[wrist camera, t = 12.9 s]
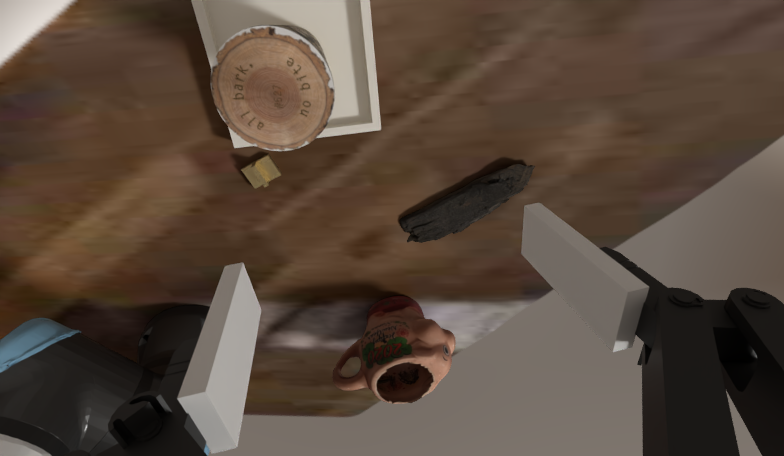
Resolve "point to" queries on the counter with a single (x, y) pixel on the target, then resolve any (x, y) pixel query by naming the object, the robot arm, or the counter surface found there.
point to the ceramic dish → (334, 33)
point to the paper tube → (273, 86)
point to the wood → (466, 204)
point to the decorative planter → (398, 353)
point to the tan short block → (261, 171)
